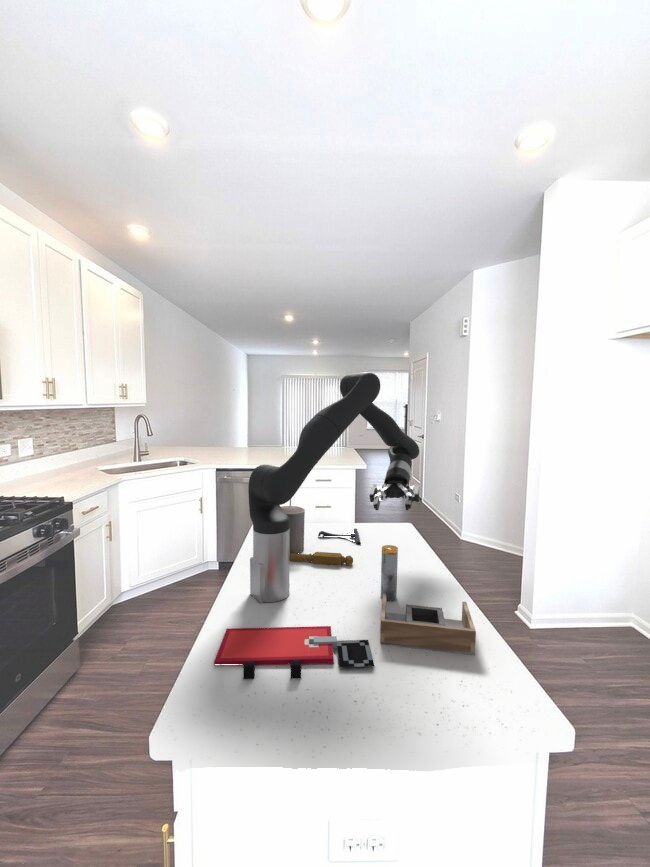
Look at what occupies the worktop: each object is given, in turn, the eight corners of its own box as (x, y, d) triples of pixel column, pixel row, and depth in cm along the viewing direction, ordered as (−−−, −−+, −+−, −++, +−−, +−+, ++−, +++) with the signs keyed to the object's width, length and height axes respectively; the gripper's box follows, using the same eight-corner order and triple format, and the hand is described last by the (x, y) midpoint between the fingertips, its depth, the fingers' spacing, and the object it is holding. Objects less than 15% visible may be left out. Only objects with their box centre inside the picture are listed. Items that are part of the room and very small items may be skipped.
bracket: (318, 532, 153) (318, 525, 153) (357, 532, 153) (357, 525, 153) (318, 546, 139) (318, 538, 139) (360, 546, 139) (360, 538, 139)
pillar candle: (270, 553, 130) (270, 508, 129) (282, 542, 139) (282, 500, 138) (298, 557, 127) (299, 511, 126) (308, 546, 137) (309, 503, 135)
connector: (388, 603, 99) (389, 552, 98) (377, 596, 102) (378, 547, 101) (399, 598, 101) (401, 548, 100) (388, 592, 104) (390, 543, 103)
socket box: (474, 655, 79) (475, 631, 79) (380, 643, 82) (380, 620, 82) (465, 622, 91) (466, 601, 90) (382, 613, 94) (383, 593, 94)
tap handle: (259, 548, 127) (353, 553, 123) (259, 557, 127) (353, 563, 123) (256, 552, 124) (352, 557, 120) (256, 561, 124) (352, 567, 120)
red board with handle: (376, 677, 72) (364, 631, 87) (376, 662, 72) (365, 619, 87) (209, 682, 71) (226, 634, 86) (208, 667, 71) (226, 622, 86)
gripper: (374, 467, 126) (364, 496, 112) (419, 465, 122) (415, 496, 108) (377, 487, 129) (368, 518, 115) (422, 486, 125) (418, 518, 111)
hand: (391, 507), depth 112 cm, fingers open, 8 cm apart
